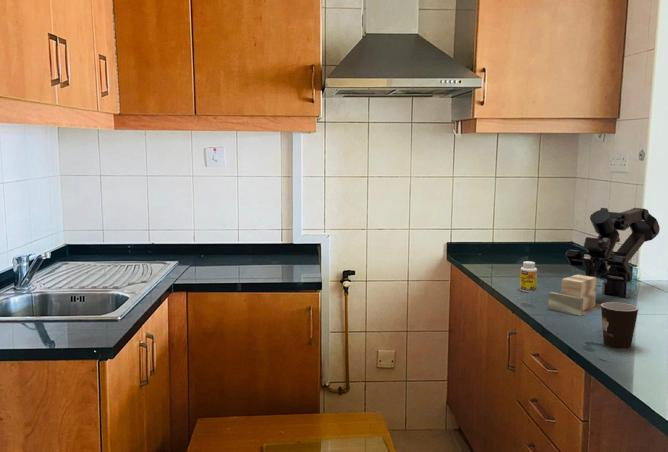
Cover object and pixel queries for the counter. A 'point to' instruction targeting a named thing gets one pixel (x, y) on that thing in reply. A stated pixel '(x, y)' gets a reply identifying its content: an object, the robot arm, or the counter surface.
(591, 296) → the block
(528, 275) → the supplement bottle
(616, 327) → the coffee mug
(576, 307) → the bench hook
